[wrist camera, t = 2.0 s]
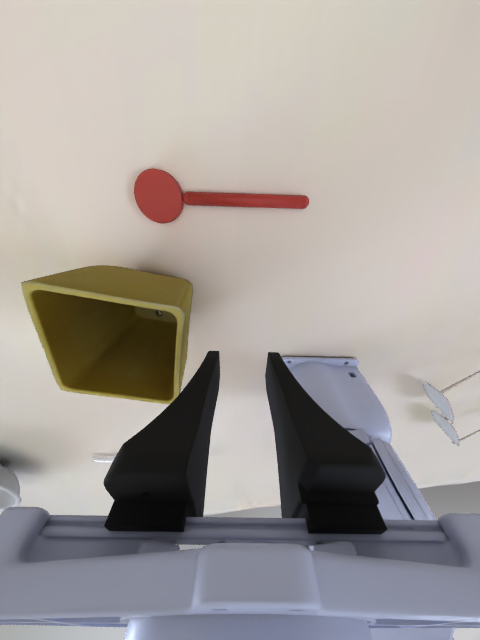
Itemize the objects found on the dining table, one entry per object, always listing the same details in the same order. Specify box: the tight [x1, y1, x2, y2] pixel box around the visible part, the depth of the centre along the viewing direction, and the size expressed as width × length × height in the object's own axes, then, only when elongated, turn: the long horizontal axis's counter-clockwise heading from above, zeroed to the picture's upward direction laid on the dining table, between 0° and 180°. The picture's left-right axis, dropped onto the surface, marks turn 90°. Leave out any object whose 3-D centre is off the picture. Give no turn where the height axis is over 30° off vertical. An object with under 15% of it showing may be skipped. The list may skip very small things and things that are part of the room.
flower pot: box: [21, 266, 193, 404], centre depth 17 cm, size 9×9×9 cm
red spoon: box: [134, 169, 309, 223], centre depth 16 cm, size 14×4×1 cm, turn 88°
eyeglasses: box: [423, 371, 480, 446], centre depth 27 cm, size 14×8×4 cm, turn 34°
